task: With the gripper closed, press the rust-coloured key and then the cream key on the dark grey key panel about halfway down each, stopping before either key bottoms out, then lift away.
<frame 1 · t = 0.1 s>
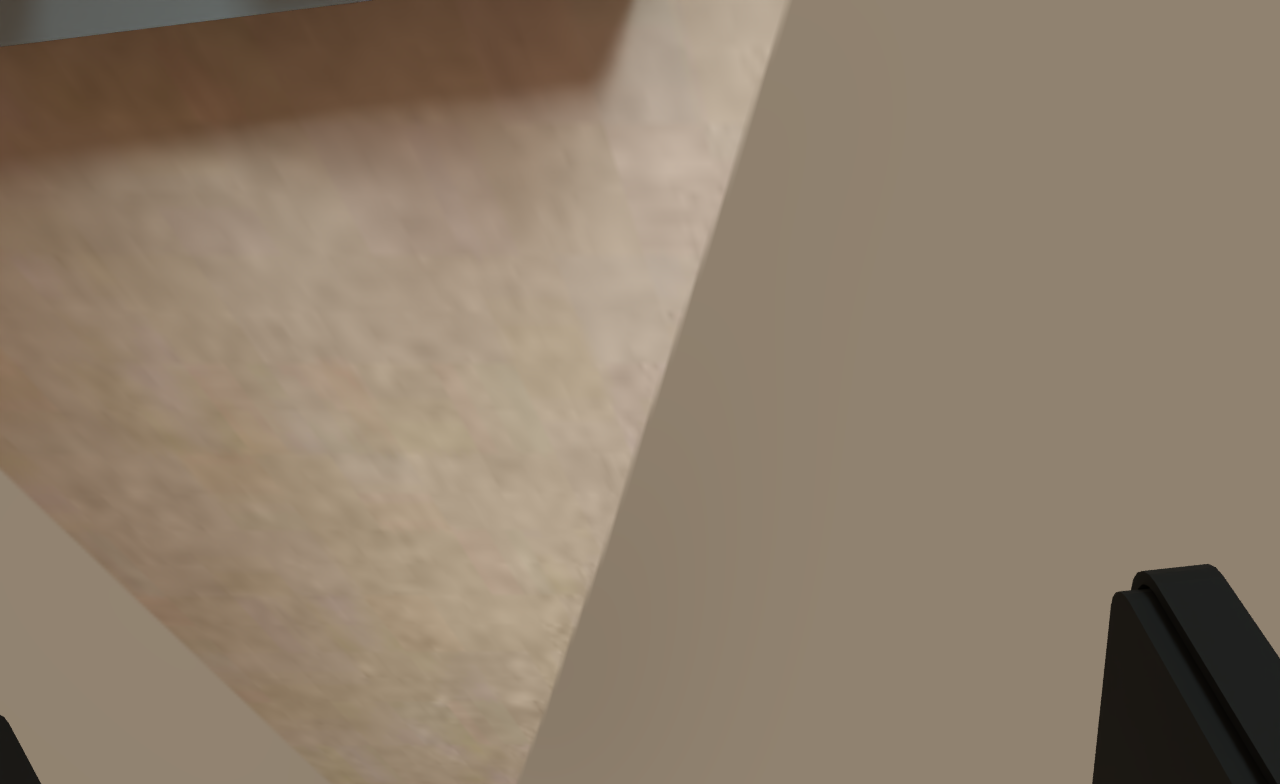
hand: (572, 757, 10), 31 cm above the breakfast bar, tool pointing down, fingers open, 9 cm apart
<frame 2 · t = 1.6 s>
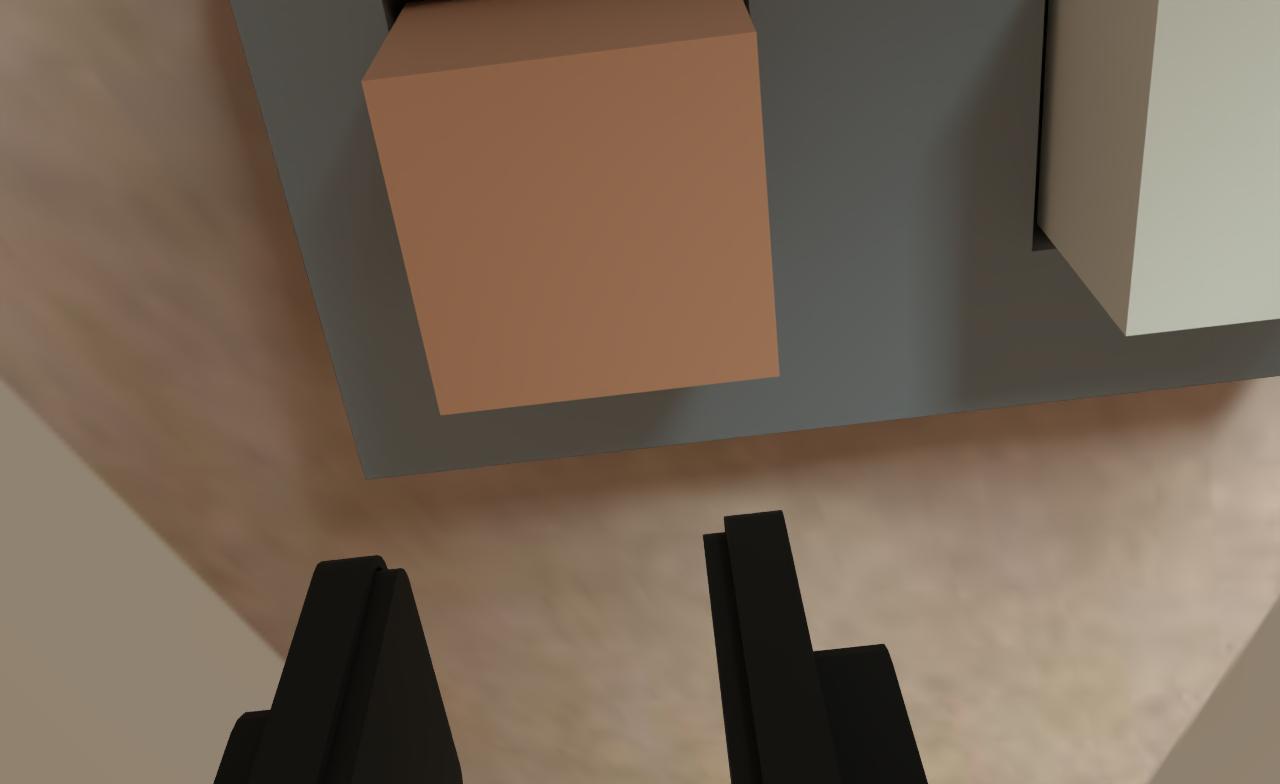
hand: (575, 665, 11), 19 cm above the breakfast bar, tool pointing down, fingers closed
cream key: (1258, 101, 22), point 7 cm above the breakfast bar, slide at 0.0 cm
rust key: (586, 183, 22), point 7 cm above the breakfast bar, slide at 0.0 cm
key panel: (852, 42, 28), on the breakfast bar
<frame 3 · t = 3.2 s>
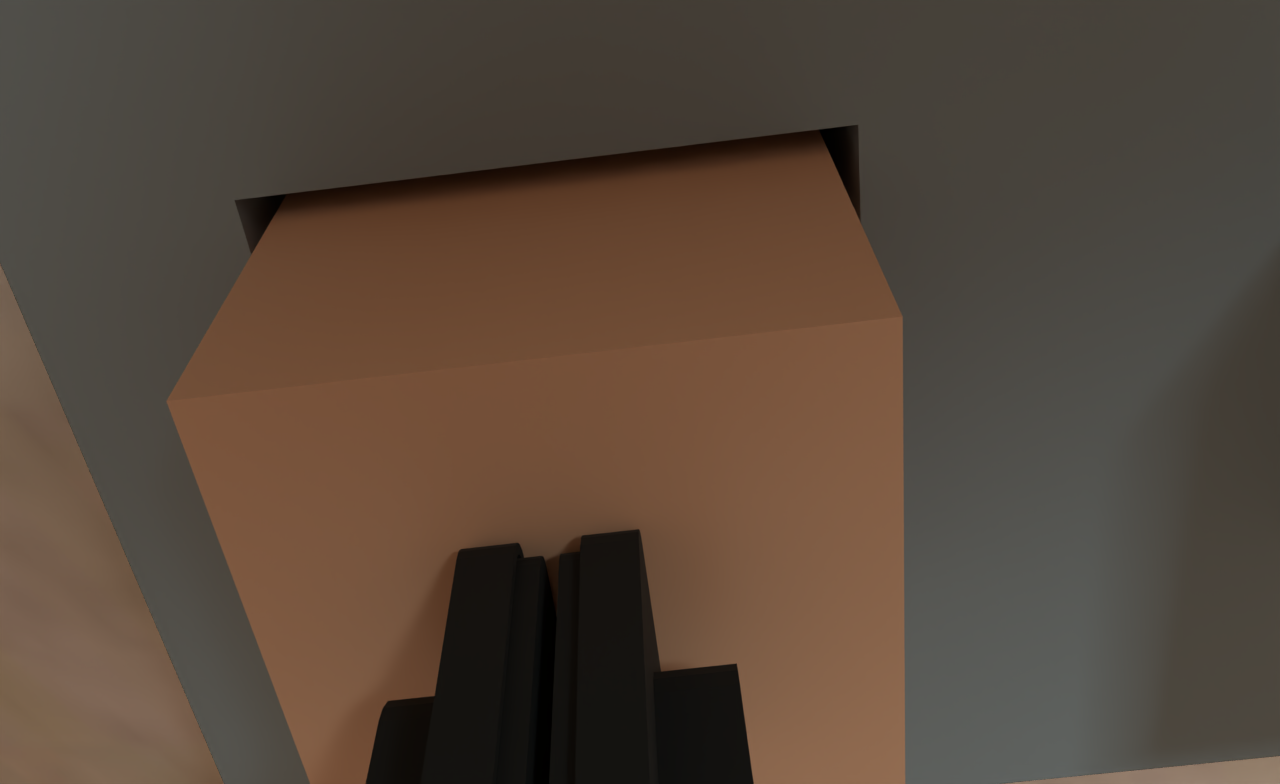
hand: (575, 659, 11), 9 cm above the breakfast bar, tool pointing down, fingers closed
rust key: (585, 480, 14), point 6 cm above the breakfast bar, slide at 0.7 cm, touching gripper
key panel: (982, 202, 19), on the breakfast bar
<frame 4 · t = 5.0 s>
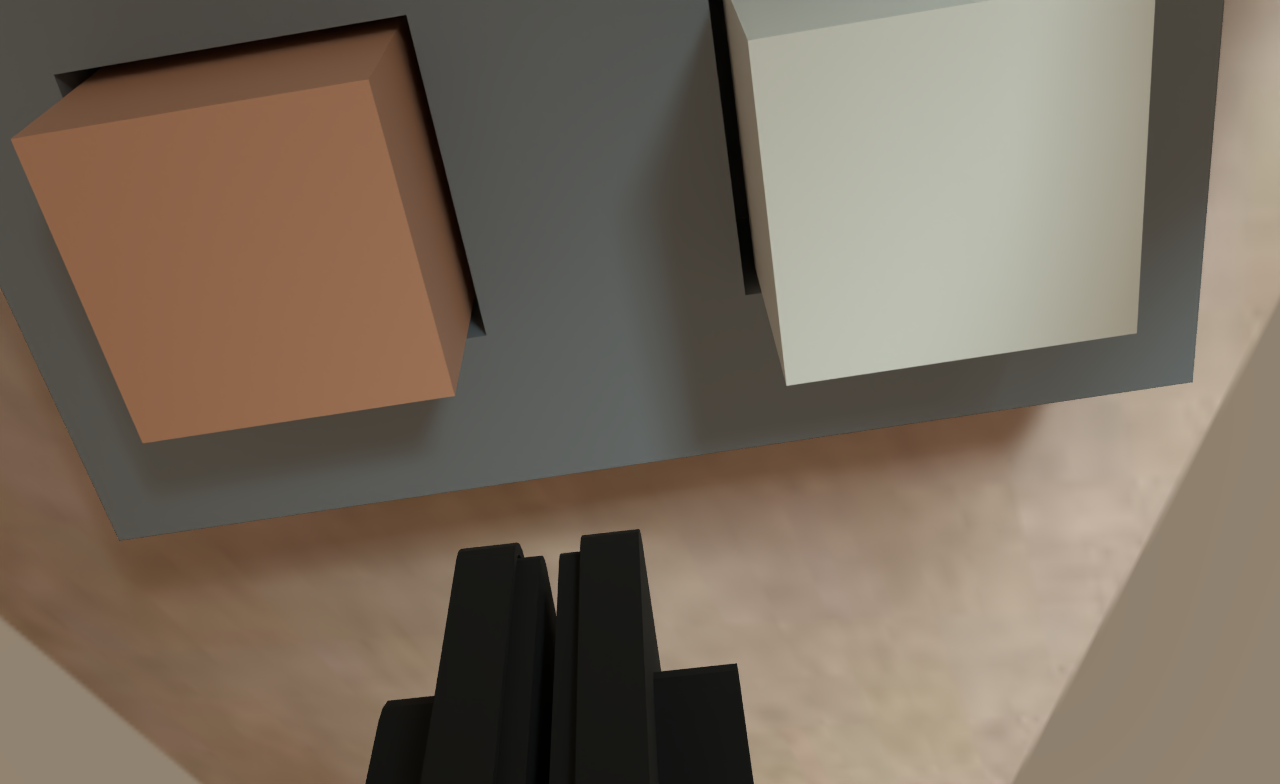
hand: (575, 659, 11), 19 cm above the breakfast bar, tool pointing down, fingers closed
cream key: (920, 145, 22), point 7 cm above the breakfast bar, slide at 0.0 cm
rust key: (279, 220, 23), point 5 cm above the breakfast bar, slide at 1.4 cm
key panel: (588, 88, 28), on the breakfast bar
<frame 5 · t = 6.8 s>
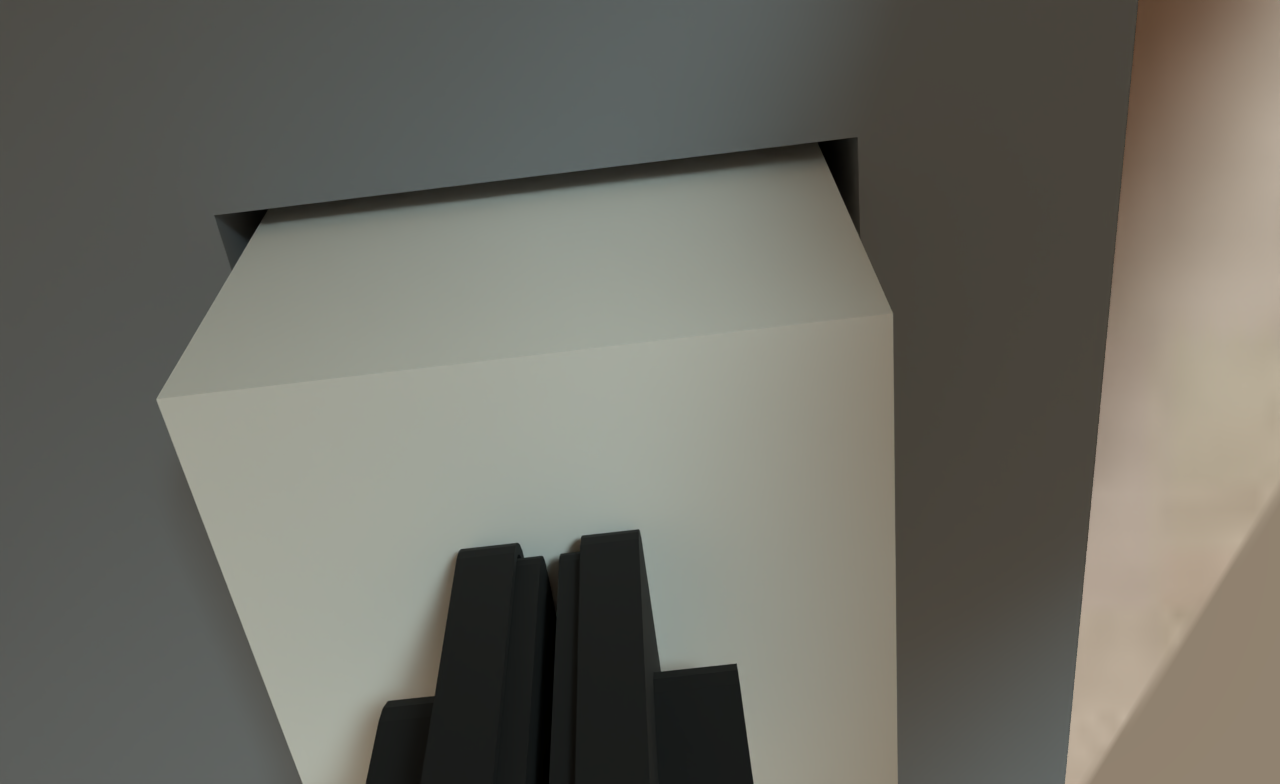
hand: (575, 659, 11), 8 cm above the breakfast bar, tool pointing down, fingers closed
cream key: (578, 478, 14), point 6 cm above the breakfast bar, slide at 1.1 cm, touching gripper
key panel: (192, 306, 19), on the breakfast bar
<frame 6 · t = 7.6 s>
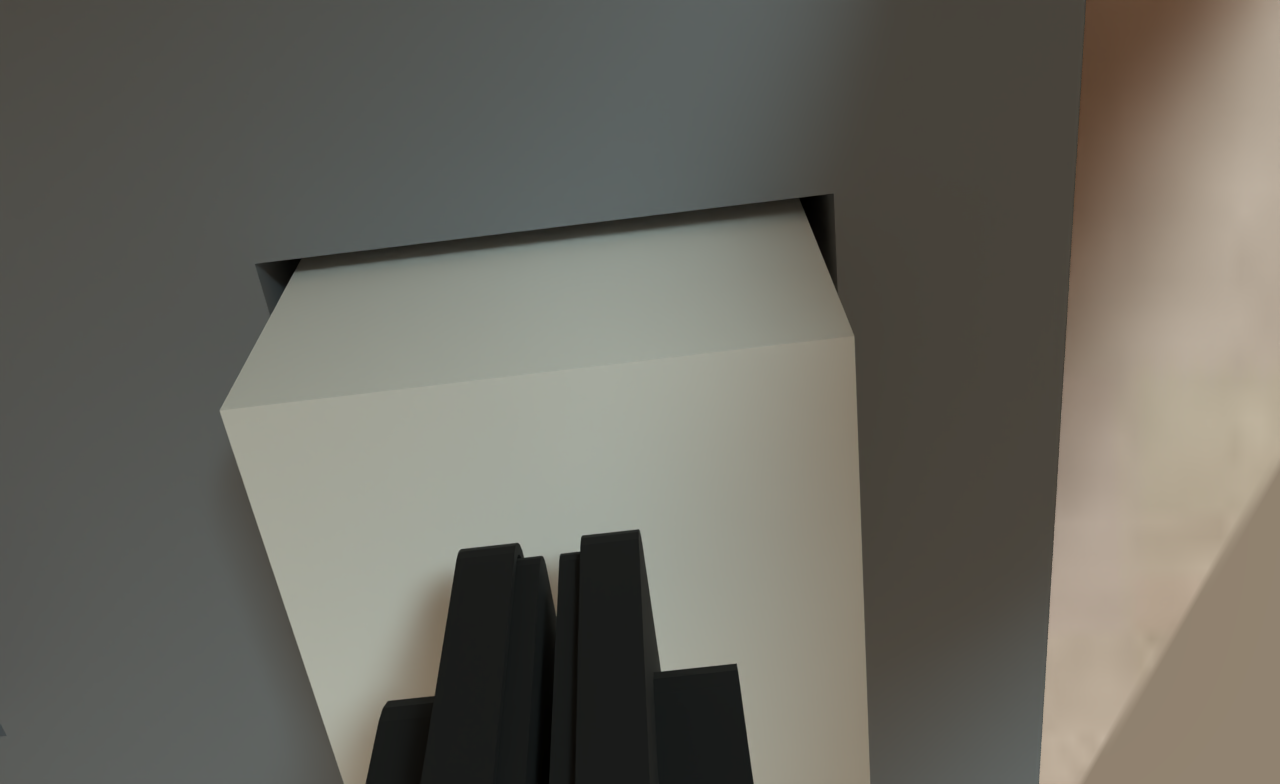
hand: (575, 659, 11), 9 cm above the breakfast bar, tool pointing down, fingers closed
cream key: (582, 488, 15), point 5 cm above the breakfast bar, slide at 1.4 cm
key panel: (222, 346, 20), on the breakfast bar
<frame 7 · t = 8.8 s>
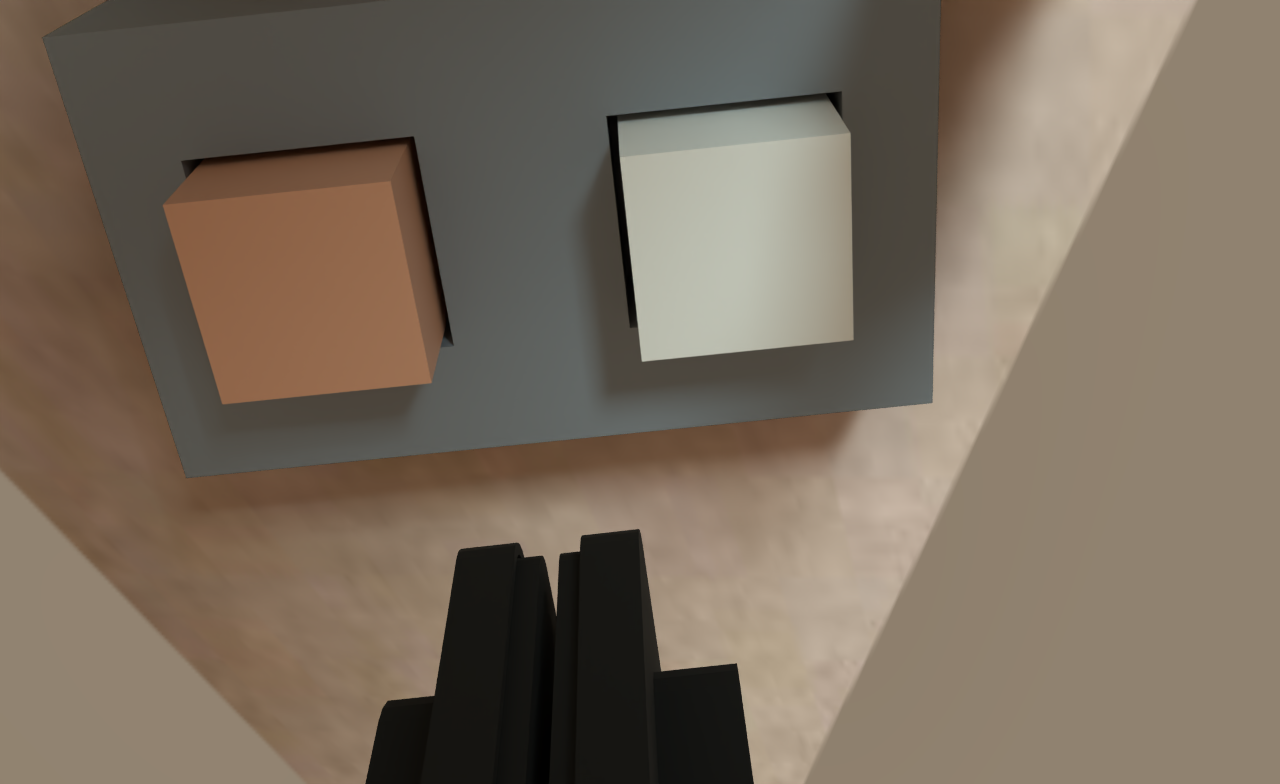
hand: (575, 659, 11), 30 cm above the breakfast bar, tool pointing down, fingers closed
cream key: (732, 219, 35), point 5 cm above the breakfast bar, slide at 1.4 cm
rust key: (320, 262, 35), point 5 cm above the breakfast bar, slide at 1.4 cm
key panel: (533, 180, 40), on the breakfast bar
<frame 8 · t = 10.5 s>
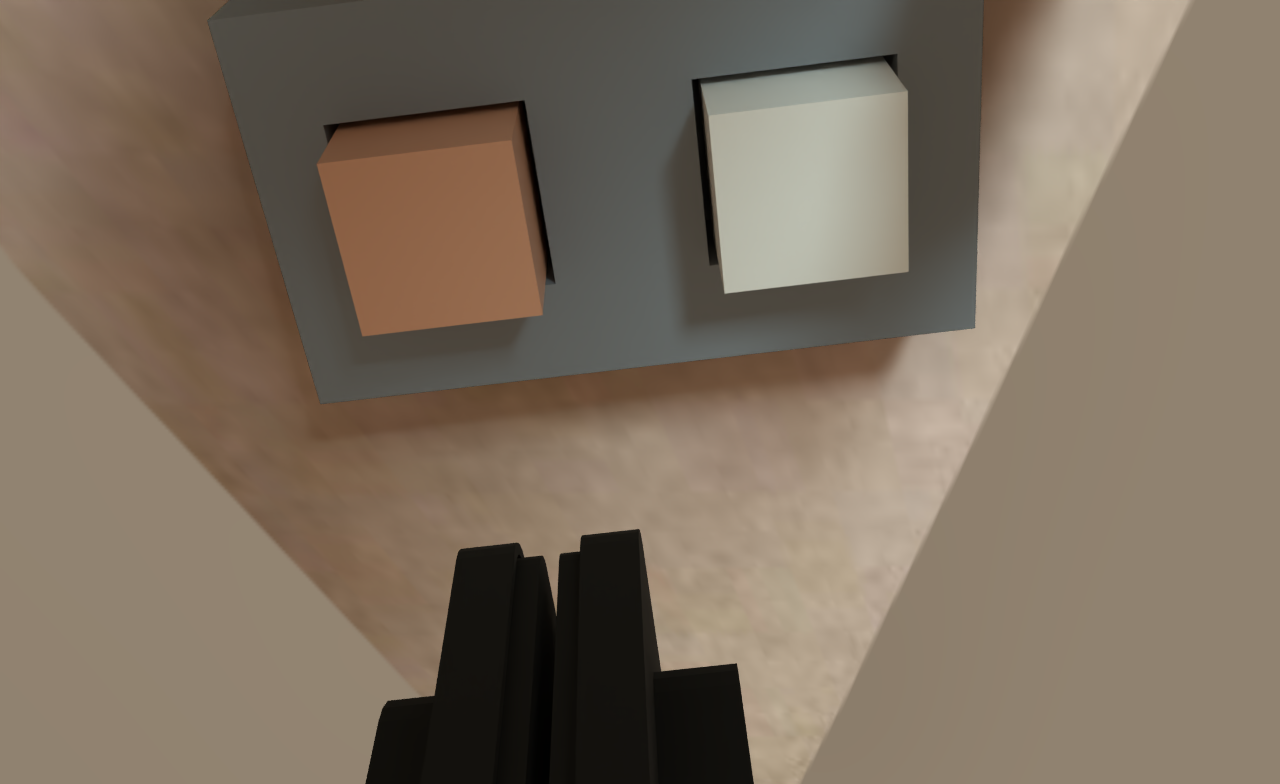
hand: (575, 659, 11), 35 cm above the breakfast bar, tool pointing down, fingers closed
cream key: (800, 168, 40), point 5 cm above the breakfast bar, slide at 1.4 cm
rust key: (442, 212, 41), point 5 cm above the breakfast bar, slide at 1.4 cm
key panel: (618, 136, 45), on the breakfast bar
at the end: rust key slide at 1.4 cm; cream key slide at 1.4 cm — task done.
